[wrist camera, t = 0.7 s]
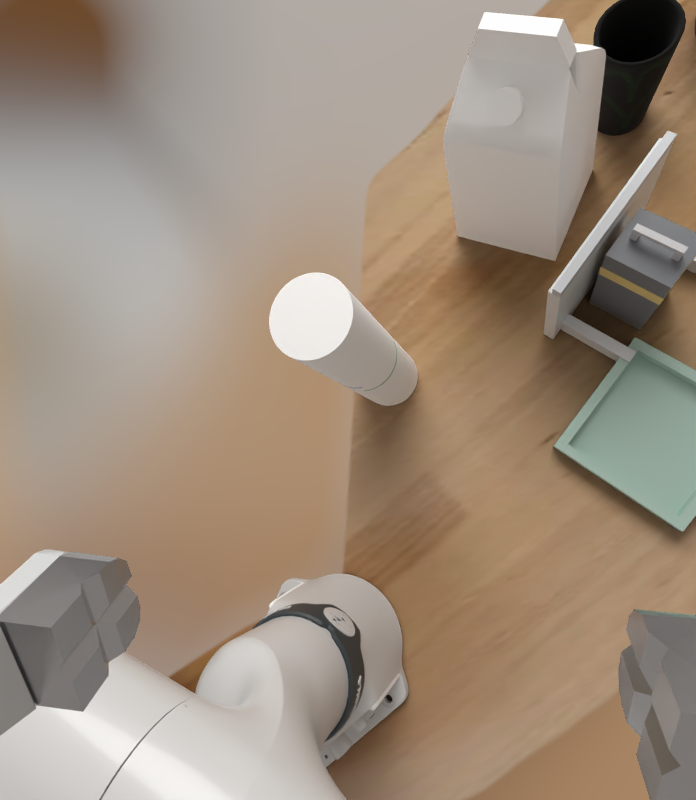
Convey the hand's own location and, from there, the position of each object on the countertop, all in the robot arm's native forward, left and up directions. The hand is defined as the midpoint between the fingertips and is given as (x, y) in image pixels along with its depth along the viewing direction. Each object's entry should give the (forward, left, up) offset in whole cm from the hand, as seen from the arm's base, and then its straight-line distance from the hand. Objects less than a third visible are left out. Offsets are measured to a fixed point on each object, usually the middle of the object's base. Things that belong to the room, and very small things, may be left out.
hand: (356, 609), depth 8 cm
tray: (+15, -8, -53) cm, 55 cm away
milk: (+30, +18, -53) cm, 64 cm away
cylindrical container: (+4, +19, -53) cm, 57 cm away
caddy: (+26, +2, -53) cm, 59 cm away
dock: (+26, +2, -53) cm, 59 cm away
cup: (+44, +15, -53) cm, 71 cm away
